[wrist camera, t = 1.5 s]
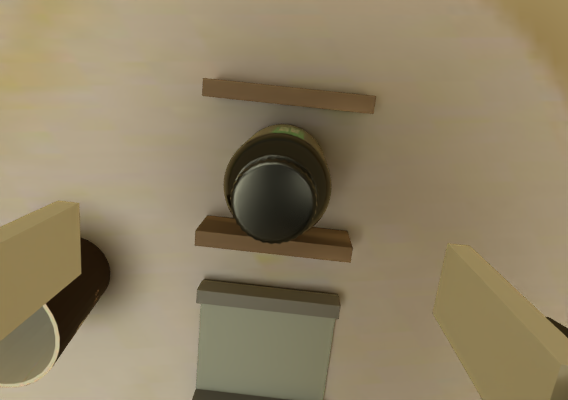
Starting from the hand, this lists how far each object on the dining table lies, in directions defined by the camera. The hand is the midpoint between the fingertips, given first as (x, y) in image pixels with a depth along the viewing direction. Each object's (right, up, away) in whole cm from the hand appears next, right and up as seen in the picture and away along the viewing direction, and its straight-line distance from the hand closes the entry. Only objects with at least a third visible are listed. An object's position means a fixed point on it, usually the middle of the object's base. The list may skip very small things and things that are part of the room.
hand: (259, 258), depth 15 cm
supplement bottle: (+1, +5, +20) cm, 20 cm away
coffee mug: (-19, -5, +23) cm, 30 cm away
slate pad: (-1, -11, +24) cm, 26 cm away
